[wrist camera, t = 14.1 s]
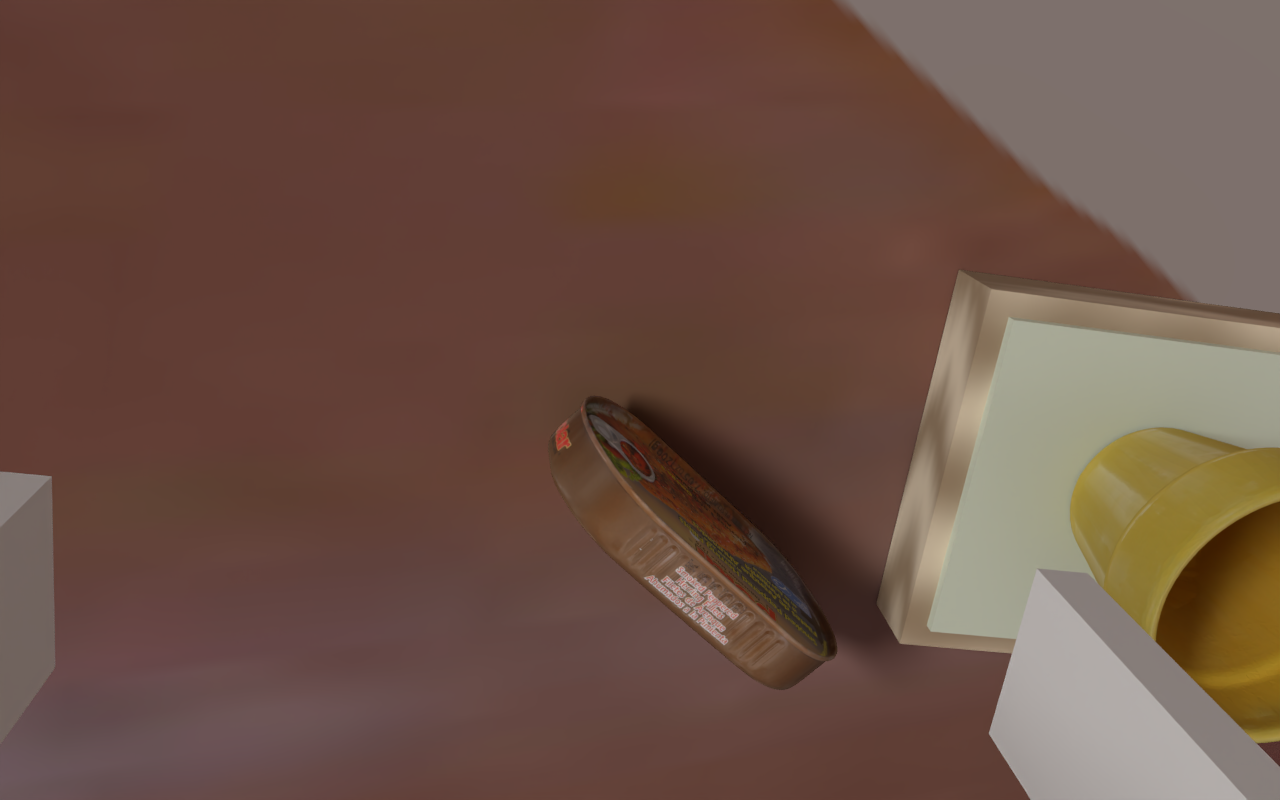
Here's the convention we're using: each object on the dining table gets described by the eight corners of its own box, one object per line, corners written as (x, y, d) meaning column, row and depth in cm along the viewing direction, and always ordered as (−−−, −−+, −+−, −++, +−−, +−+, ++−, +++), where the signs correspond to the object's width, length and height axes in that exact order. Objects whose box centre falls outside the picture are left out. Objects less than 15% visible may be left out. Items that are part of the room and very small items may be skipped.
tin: (816, 583, 52) (868, 686, 44) (765, 627, 52) (808, 737, 44) (585, 366, 47) (597, 438, 39) (532, 417, 48) (534, 498, 40)
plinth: (959, 269, 47) (996, 292, 44) (1300, 316, 50) (1364, 341, 46) (876, 603, 52) (903, 649, 49) (1190, 632, 55) (1238, 678, 51)
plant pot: (1159, 645, 50) (1304, 790, 41) (976, 549, 47) (1086, 679, 38) (1309, 454, 47) (1499, 561, 38) (1125, 341, 45) (1281, 427, 36)
